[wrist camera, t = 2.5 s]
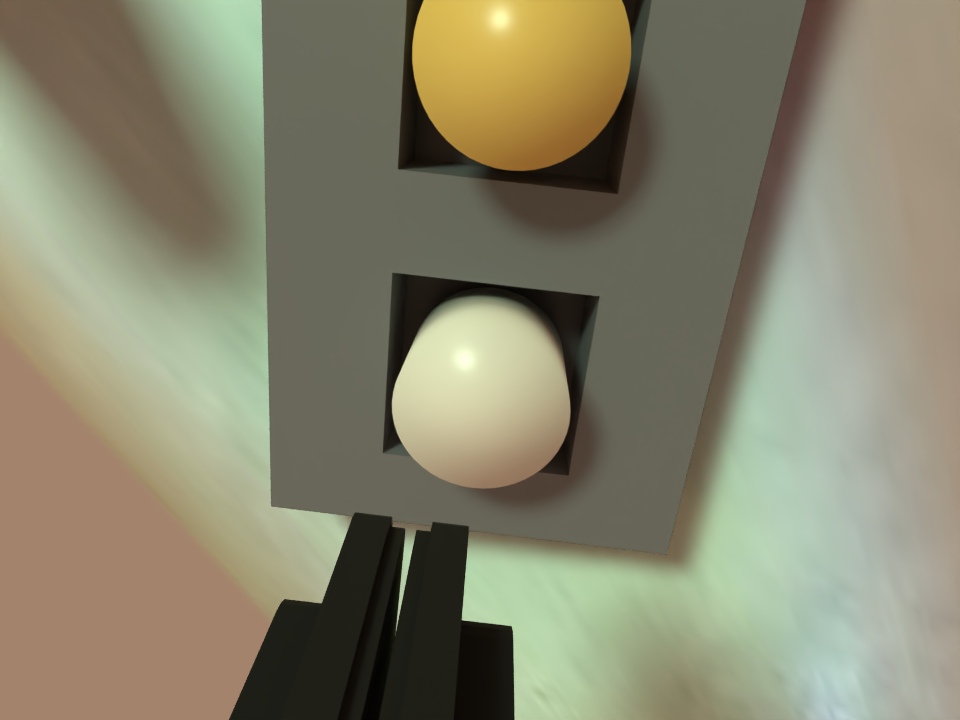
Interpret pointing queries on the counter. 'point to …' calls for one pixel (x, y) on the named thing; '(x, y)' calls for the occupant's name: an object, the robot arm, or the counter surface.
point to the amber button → (521, 75)
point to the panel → (508, 260)
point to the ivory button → (483, 390)
